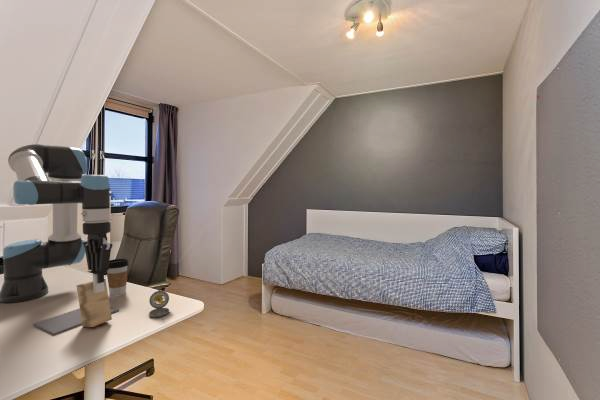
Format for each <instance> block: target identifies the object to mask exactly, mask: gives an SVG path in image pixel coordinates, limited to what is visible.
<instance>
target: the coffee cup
mask: <svg viewBox="0 0 600 400" xmlns="http://www.w3.org/2000/svg"><path fill="white" fill-rule="evenodd" d="M128 261H129V260H128V258H115V259H110V262H109V270H108V271H106V277H107V278H106V279H107V285H108V291H109V292H108V293H109V296H110V297H118V296H123V295H125V294H126V292H127V284H128V272H129V271H128V266H129V265H130V264H129V262H128Z"/></svg>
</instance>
